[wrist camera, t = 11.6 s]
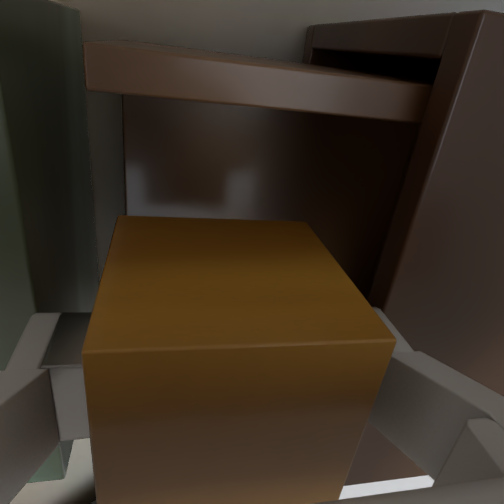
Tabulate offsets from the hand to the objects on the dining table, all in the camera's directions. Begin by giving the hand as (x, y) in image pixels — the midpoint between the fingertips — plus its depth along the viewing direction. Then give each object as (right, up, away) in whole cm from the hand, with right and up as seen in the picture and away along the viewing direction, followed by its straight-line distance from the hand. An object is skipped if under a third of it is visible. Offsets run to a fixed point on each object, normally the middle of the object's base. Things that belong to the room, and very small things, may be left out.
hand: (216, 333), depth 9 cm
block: (0, +1, +1) cm, 2 cm away
